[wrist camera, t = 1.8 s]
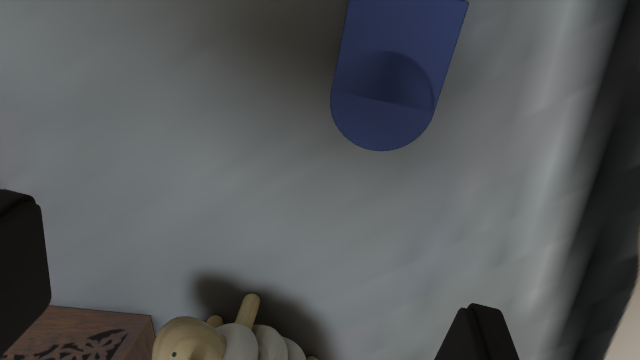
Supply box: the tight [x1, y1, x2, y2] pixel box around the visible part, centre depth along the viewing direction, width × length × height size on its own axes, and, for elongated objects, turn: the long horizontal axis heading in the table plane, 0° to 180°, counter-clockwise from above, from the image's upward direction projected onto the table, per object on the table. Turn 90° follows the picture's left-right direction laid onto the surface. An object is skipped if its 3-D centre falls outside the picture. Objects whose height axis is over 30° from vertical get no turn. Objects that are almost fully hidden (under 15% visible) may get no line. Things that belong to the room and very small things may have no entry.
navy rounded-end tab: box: [330, 0, 469, 151], centre depth 20 cm, size 12×5×4 cm, turn 170°
